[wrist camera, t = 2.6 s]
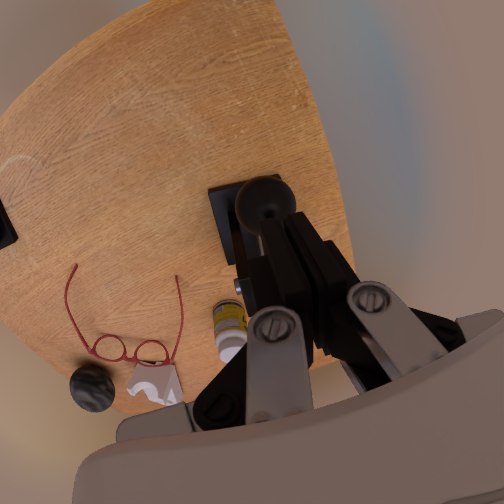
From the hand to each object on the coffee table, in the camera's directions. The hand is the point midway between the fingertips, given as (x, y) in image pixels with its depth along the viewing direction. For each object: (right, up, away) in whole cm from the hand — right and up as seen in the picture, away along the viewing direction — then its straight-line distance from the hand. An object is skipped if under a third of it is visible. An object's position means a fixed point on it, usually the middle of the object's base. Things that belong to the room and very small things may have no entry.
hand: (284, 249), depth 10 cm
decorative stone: (-34, -25, +36) cm, 55 cm away
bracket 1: (-20, -26, +39) cm, 51 cm away
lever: (0, +1, +8) cm, 9 cm away
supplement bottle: (-5, -9, +30) cm, 32 cm away
